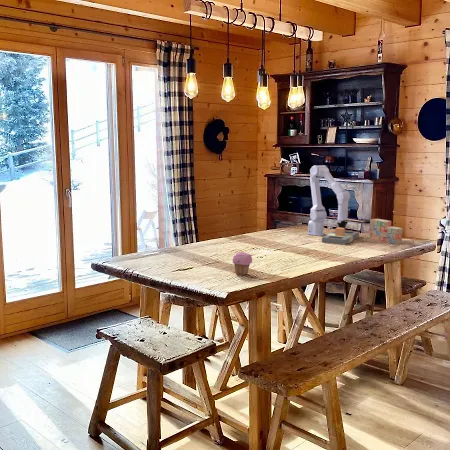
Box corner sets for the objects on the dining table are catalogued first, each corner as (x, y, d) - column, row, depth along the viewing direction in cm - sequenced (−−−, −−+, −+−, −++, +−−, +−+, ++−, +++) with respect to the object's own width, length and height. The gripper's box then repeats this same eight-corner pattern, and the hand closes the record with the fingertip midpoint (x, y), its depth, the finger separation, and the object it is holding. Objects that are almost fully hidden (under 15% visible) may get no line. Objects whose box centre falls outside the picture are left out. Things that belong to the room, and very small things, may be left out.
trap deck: (321, 242, 319) (322, 237, 318) (337, 234, 346) (337, 230, 345) (345, 244, 312) (345, 239, 312) (359, 236, 339) (359, 232, 339)
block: (335, 235, 325) (335, 228, 324) (337, 234, 329) (337, 227, 328) (342, 236, 323) (342, 228, 322) (344, 235, 327) (345, 227, 326)
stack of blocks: (401, 243, 320) (403, 223, 318) (394, 244, 317) (395, 223, 315) (376, 237, 339) (377, 218, 337) (368, 238, 336) (370, 218, 334)
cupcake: (235, 271, 245) (235, 249, 244) (253, 272, 243) (254, 251, 241) (229, 275, 237) (230, 253, 235) (249, 277, 235) (249, 254, 233)
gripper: (346, 212, 319) (344, 235, 321) (352, 210, 331) (351, 231, 333) (334, 211, 322) (333, 234, 324) (341, 209, 335) (340, 230, 337)
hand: (341, 233), depth 329 cm, fingers closed
